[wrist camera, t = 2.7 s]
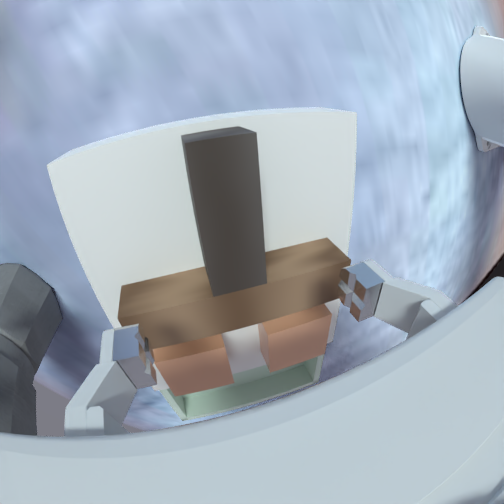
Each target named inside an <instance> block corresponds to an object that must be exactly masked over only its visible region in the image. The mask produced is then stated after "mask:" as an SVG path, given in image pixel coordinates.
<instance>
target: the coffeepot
mask: <svg viewBox="0 0 504 504" xmlns="http://www.w3.org/2000/svg"><path fill="white" fill-rule="evenodd" d="M62 319H63V318H62V315H61V312H60V309H59V305H58V301H57V299H56V297H55V295H54V293H53V292H52V289H51V287H50V286H49V285H48V284H47V283H46V282H45V281H44V280H43V279H41V278H40V277H39V276H38V275H37V274H36V273H34V272H33V271H31V270H30V269H28V268H26V267H24V266H22V265H21V264H14V263H5V264H1V265H0V432H5V433H12V434H21V435H33V436H37V426H36V390H35V389H34V387H33V385H32V384H33V380H34V375H35V374H36V372H37V370H38V368H39V366H40V364H41V362H42V359H43V357H44V355H45V353H46V351H47V349H48V347H49V344H50V342H51V340H52V338H53V336H54V334H55V332H56V330H57V329H58V327H59V325H60V323H61V321H62Z"/></svg>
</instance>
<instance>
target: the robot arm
mask: <svg viewBox="0 0 504 504" xmlns="http://www.w3.org/2000/svg"><path fill="white" fill-rule="evenodd" d="M460 75H461V88H462V95H463V101H464V105H465V109H466V113H467V116H468V119H469V121H470V124H471V126H472V128H473V130H474V132H475V136H476V142H477V147H478V150H479V151H483V152H487V151H489V150H492V149H494V148H497V147H499V146H503V147H504V39H502V38H497V37H492V36H490V35H489V33H488V32H487V31H486V30H485V29H484V28H483V27H481V26H475V29H474V32H473V35H472V36H471V37H470V38H469V39H467V41H466V42H465V44H464V46H463V49H462V54H461V64H460ZM339 277H340V278H341V281H340V283H339V284H338V296H339V299H340V301H341V302H342V303H343V305H345V306H347V307H350V313H351V314H352V315H353V316H354V318H355V319H356V320H357V321H358V322H359V321H362V320H364V319H367V318H369V317H372V316H374V317H376V318H378V319H380V320H382V321H384V322H386V323H388V324H390V325H392V326H394V327H396V328H398V329H400V330H403V331H405V332H407V333H409V334H408V336H407V338H406V340H405V341H403V342H402V343H400V344H398V345H396V346H395V347H393V348H391V349H389V350H387V351H386V352H384V353H382V354H380V355H378V356H376V357H374V358H372V359H371V360H369V361H367V362H365V363H363V364H361V365H359V366H356V367H354V368H352V369H350V370H348V371H346V372H344V373H342V374H339V375H337V376H335V377H333V378H330V379H328V380H326V381H324V382H321V383H319V384H316V385H314V386H311V387H309V388H306V389H304V390H301V391H299V392H296V393H294V394H291V395H288V396H285V397H283V398H280V399H277V400H274V401H271V402H268V403H265V404H262V405H259V406H256V407H252V408H249V409H246V410H242V411H239V412H235V413H232V414H228V415H224V416H221V417H217V418H213V419H208V420H204V421H200V422H195V423H190V424H186V425H181V426H175V427H170V428H164V429H158V430H151V431H144V432H137V433H130V432H128V431H127V430H126V429H125V428H124V427H122V424H123V421H124V419H125V417H126V414H127V412H128V410H129V408H130V405H131V403H132V401H133V399H134V396H135V394H136V392H137V389H139V388H144V387H149V386H154V385H157V378H156V370H155V369H154V367H153V363H154V362H155V359H154V353H153V349H152V346H151V343H150V341H149V339H148V338H147V337H145V336H144V329H143V327H142V325H141V324H134V325H129V326H124V327H119V328H115V329H110V330H104V331H103V333H102V340H101V350H100V362H99V364H96V365H95V367H94V368H93V369H92V371H91V372H90V374H89V375H88V376H87V378H86V379H85V381H84V382H83V383H82V385H81V386H80V388H79V389H78V391H77V392H76V394H75V395H74V396H73V398H72V399H71V401H70V402H69V404H68V405H67V407H66V413H65V431H64V437H53V436H52V437H51V436H33V435H21V434H12V433H5V432H0V504H504V278H502V277H495V278H493V279H492V280H491V281H490V282H489V283H487V284H486V285H485V286H483V287H482V288H481V289H480V290H479V291H477V292H476V293H475V294H473V295H472V296H471V297H469V298H468V299H467V300H465V301H464V302H463V303H461V304H460V305H459V306H457V305H456V304H455V303H454V302H453V301H452V300H451V299H450V298H449V297H447V296H446V295H445V294H444V293H443V292H442V291H440V290H437V289H434V288H431V287H427V286H424V285H421V284H418V283H414V282H411V281H408V280H405V279H401V278H398V277H396V278H394V277H393V276H391V275H390V274H389V273H388V272H387V271H386V270H385V269H383V268H382V267H381V266H380V265H379V264H378V263H376V262H375V261H374V260H372V259H368V260H365V261H362V262H360V263H357V264H354V265H351V266H348V267H345V268H342V269H341V271H340V274H339Z"/></svg>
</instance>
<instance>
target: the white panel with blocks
mask: <svg viewBox="0 0 504 504" xmlns="http://www.w3.org/2000/svg"><path fill="white" fill-rule="evenodd" d="M236 126H240V127H243V128H246V129H249V130H251V131H254V132H257V143H258V156H259V170H260V183H261V198H262V212H263V227H264V242H265V252H267V251H272V250H276V249H280V248H284V247H289V246H293V245H297V244H301V243H305V242H310V241H314V240H318V239H322V238H326V237H327V238H328V239H329V240H331V241H332V242H333V243H334V244H335V245H336V246H337V247H338V248H339V249H340V250H341V251H342V252H343V253H344V254H345V255H346V256H347V255H348V248H349V239H350V230H351V221H352V210H353V199H354V185H355V167H356V139H357V113H356V112H350V111H344V110H337V109H330V108H322V107H303V108H278V109H263V110H251V111H241V112H232V113H224V114H216V115H209V116H203V117H197V118H191V119H185V120H180V121H175V122H170V123H165V124H160V125H156V126H151V127H147V128H143V129H139V130H135V131H131V132H127V133H123V134H120V135H116V136H113V137H109V138H106V139H103V140H99V141H96V142H93V143H90V144H87V145H84V146H81V147H78V148H75V149H73V150H70V151H69V152H67V153H65V154H64V155H62V156H60V157H59V158H57V159H55V160H54V161H52V162H50V163H49V164H47V168H48V172H49V175H50V179H51V182H52V186H53V189H54V193H55V196H56V199H57V202H58V205H59V208H60V211H61V214H62V217H63V220H64V222H65V225H66V228H67V231H68V233H69V236H70V238H71V241H72V243H73V246H74V248H75V251H76V253H77V255H78V258H79V260H80V262H81V265H82V267H83V269H84V271H85V273H86V276H87V278H88V280H89V282H90V284H91V286H92V288H93V290H94V292H95V294H96V296H97V298H98V300H99V302H100V304H101V306H102V308H103V310H104V311H105V313H106V315H107V317H108V319H109V321H110V322H111V324H112V326H113V328H114V329H115V328H119V327H122V326H121V324H120V323H119V321H118V319H117V318H118V309H119V300H120V292H121V286H122V285H127V284H131V283H135V282H139V281H144V280H148V279H152V278H157V277H161V276H165V275H170V274H174V273H178V272H182V271H187V270H191V269H195V268H199V267H204V266H205V265H204V261H203V256H202V251H201V246H200V242H199V237H198V232H197V227H196V221H195V216H194V211H193V205H192V200H191V194H190V189H189V183H188V177H187V171H186V165H185V159H184V153H183V146H182V140H181V135H185V134H191V133H196V132H202V131H208V130H215V129H221V128H229V127H236ZM324 304H325V305H326V307H327V308H328V309H329V311H330V312H331V313H332V318H331V323H330V329H329V334H328V340H327V344H328V343H330V342H333V337H334V332H335V328H336V322H337V317H338V312H339V307H340V299H336V300H333V301H330V302H327V303H324ZM221 335H222V339H223V342H224V345H225V349H226V353H227V356H228V360H229V364H230V368H231V372H232V374H235V373H239V372H242V371H246V370H250V369H253V368H256V367H260V366H263V365H266V362H265V360H264V358H263V355H262V353H261V351H260V341H259V331H258V324H255V325H252V326H248V327H244V328H241V329H237V330H233V331H229V332H225V333H222V334H221ZM153 367H154V369H155V370H156V378H157V385H154V386H152V388H153V389H154V391H158V390H164V389H169V386H168V385H167V383H166V382H165V380H164V378H163V377H162V375H161V374H160V372H159V370H158V369H157V367H156V365H155V364H154V363H153Z"/></svg>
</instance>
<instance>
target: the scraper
mask: <svg viewBox="0 0 504 504" xmlns="http://www.w3.org/2000/svg"><path fill="white" fill-rule="evenodd" d="M181 140H182V146H183V153H184V159H185V165H186V171H187V177H188V183H189V189H190V194H191V200H192V205H193V211H194V216H195V221H196V227H197V232H198V237H199V242H200V246H201V251H202V256H203V261H204V265H205V266H204V267H199V268H195V269H191V270H187V271H182V272H178V273H174V274H170V275H165V276H161V277H157V278H152V279H148V280H144V281H139V282H135V283H131V284H127V285H122V286H121V292H120V300H119V309H118V318H117V319H118V321H119V323H120V324H121V326H122V327H124V326H129V325H134V324H141V325H142V327H143V329H144V336H145V337H147V338H148V339H149V341H150V343H151V346H152V349H156V348H161V347H165V346H170V345H175V344H179V343H184V342H188V341H193V340H197V339H201V338H205V337H209V336H214V335H218V334H222V333H225V332H229V331H233V330H237V329H241V328H244V327H248V326H252V325H255V324H259V323H262V322H266V321H269V320H273V319H276V318H280V317H283V316H286V315H290V314H293V313H296V312H299V311H302V310H306V309H309V308H312V307H315V306H318V305H321V304H324V303H327V302H330V301H333V300H336V299H339V296H338V284H339V283H340V281H341V278H340V277H339V274H340V271H341V269H342V268H345V267H348V266H350V263H351V260H350V259H349V258H348V257H347V256H346V255H345V254H344V253H343V252H342V251H341V250H340V249H339V248H338V247H337V246H336V245H335V244H334V243H333V242H332V241H331V240H329V239H328V238H327V237H326V238H322V239H318V240H314V241H310V242H305V243H301V244H297V245H293V246H289V247H284V248H280V249H276V250H272V251H267V252H265V242H264V227H263V212H262V198H261V183H260V170H259V156H258V143H257V132H254V131H251V130H249V129H246V128H243V127H240V126H236V127H229V128H221V129H215V130H208V131H202V132H196V133H191V134H185V135H181Z"/></svg>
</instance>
